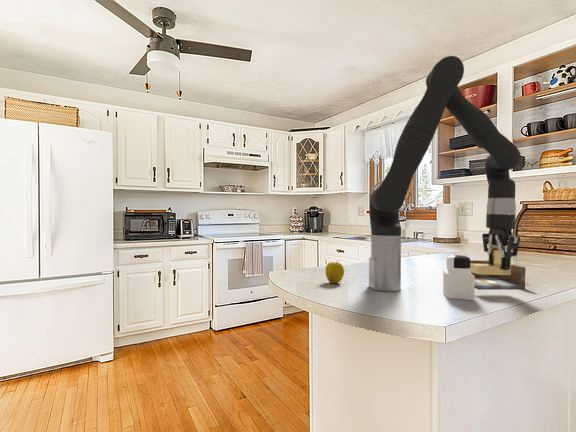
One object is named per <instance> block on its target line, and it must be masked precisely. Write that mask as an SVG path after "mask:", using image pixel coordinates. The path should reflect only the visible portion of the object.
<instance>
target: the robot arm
mask: <svg viewBox="0 0 576 432" xmlns="http://www.w3.org/2000/svg"><path fill="white" fill-rule="evenodd" d="M464 73H465V65H464V63H463V61H462V60H461V58H459V57H458V56H457V55H456V56H455V55H448V56H444V57H443V58H441V59H439V60H438V61H437V62H436V63H435V64H434V65H433V66H432V68H431V69H430V71H429V72H428V74H427V75H426V79H425V86H426V90H425V92H424V94H423V96H422V98H421V100H420V101H419V103H418V104H417V106H416V108H415V109H414V110H413V112H412V113H411V115H410V117H409V118H408V120H407V121H406V123H405V126H404V127H403V130H402V132H401V134H400V136H399V138H398V141H397V143H396V147H395V149H394V150H395V151H394V155H393V158H392V162H391V166H390V167H389V170H388V172H387V174H386V175H385V177H384V179H383V181H382V182H381V184H380V186H378V187H377V188H375V189H374V190H373V191H372V193H371V195H370V199H369V219H370V220H369V221H370V222H369V224H370V230H371V231H370V232H371V238H370V240H371V242H370V243H371V244H370V257H369V258H368V287H370V289H372V290H374V291H380V292H399V291H401V290H402V289H401V287H402V281H401V280H402V278H401V277H402V226H401V224H400V211H399V210H400V209H401V208H402V207H403V205H404V203H405V200H406V196H407V193H408V192H409V189H410V185H411V182H412V180H413V177H414V175H415V173H416V171H417V169H418V168H419V166H420V165H421V163H422V161H423V159H424V157H425V155H426V153H427V151H428V149H429V147H430V145H431V143H432V141H433V138H434V136H435V134H436V131H437V129H438V127H439V124H440V122H441V120H442V117H443V114H444V112H445V109H447V110H448V111H449V113H450V114H451V115H452V116H453V117H454V118H455V119H456V120H457V122H458V123H459V124H460V125H461V126H462V128H463V130H465V132H466V133H467V135H468V137H469V138H470V139H471V140H472V142H473V144H475V146H476V147H478V149H484V150H485V151H486V152H487V153H488V155H487V156H486V159H485V161H484V163H485V164H484V169H485V175H486V180H487V184H488V189H487V203H486V212H485V213H486V218H485V220H486V221H485V227H486V228H487V229H489V231H488V233H482V234H481V235H482V236H481V238H482V243H483V245H482V246H483V252H485V253H487V255H488V260H489V264H492V250H498V249H499V250H500V251H501V255H502V257H501V269H502V270H509V269H510V259H511V260H512V258H513V257H517V255H518V251H519V246H520V241H521V238H520V236H515V235H513V232H512V231H513V230H514V229H515V228H516V215H517V214H516V212H517V206H516V205H517V203H516V182H515V180H513V179H511V177H510V170H513V169H515V168H517V167H518V166H519V165H520V163H521V161H522V155H521V152H520V150H519V149H518V147H517V146H516V145H515V144H514V143H513V142H512V141H511V140H510V139H508V138H507V136H505V135H504V134H502V133H501V132H500V131H499V129H498V128H497V126H496V125H495V124H494V122H493V121H492V119H491V118H490V117H489V116H488V115H487V113H485V112H484V111H483V110H482V109H481V108H479V107H478V106H476V105H475V104H473V103H472V102H470V101H469V100H468V99H467V98H466V97H465V96H464V95H463V93H462V91H460V89H459V86H458V85H459V84H460V82H461V81H462V79H463V77H464ZM504 246H505V247H504ZM493 248H494V249H493ZM505 251H506V253H505Z"/></svg>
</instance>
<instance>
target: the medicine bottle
mask: <svg viewBox="0 0 576 432" xmlns="http://www.w3.org/2000/svg"><path fill="white" fill-rule="evenodd" d="M470 260H471V258H470V257H468V256H466V255H461V254H460V255H459V254H451V255H449V256H447V257H446V269H443V272H442V274H443V275H442V277H443V279H442V293H443V296H445V298H446V299H450V300H461V301H462V300H463V301H475V288H474V285H475V276H474V275H473V274H472V273H470V272H469V271H470Z"/></svg>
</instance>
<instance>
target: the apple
mask: <svg viewBox="0 0 576 432" xmlns="http://www.w3.org/2000/svg"><path fill="white" fill-rule="evenodd" d="M325 276H326V278H327V281H328V283H330V284H338V283H340V282H342V280H343V277H344V276H345V269H344V266H343V264H341V262H339V260H337V261H335V262H328V263H327V264H326V266H325Z"/></svg>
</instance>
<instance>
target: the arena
mask: <svg viewBox="0 0 576 432" xmlns="http://www.w3.org/2000/svg"><path fill="white" fill-rule="evenodd" d="M470 263H472V264H489V259H488V260H487V259H486V260H484V259H483V260H482V259H481V260H480V259H479V260H478V259H475V260H473V259H470ZM470 273H472V272H470ZM472 274H473V275H474V276H475V285H474V289H479V290H480V289H481V290H482V289H484V290H485V289H486V290H487V289H489V290H491V289H492V290H493V289H494V290H495V289H496V290H499V289H504V290H505V289H507V290H508V289H509V290H511V289H516V290H517V289H518V290H519V289H521V290H523V289H524V290H525V289H526V267H525V266H522V265H517V264H512V263H511V275H483V274H475V273H472Z"/></svg>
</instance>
